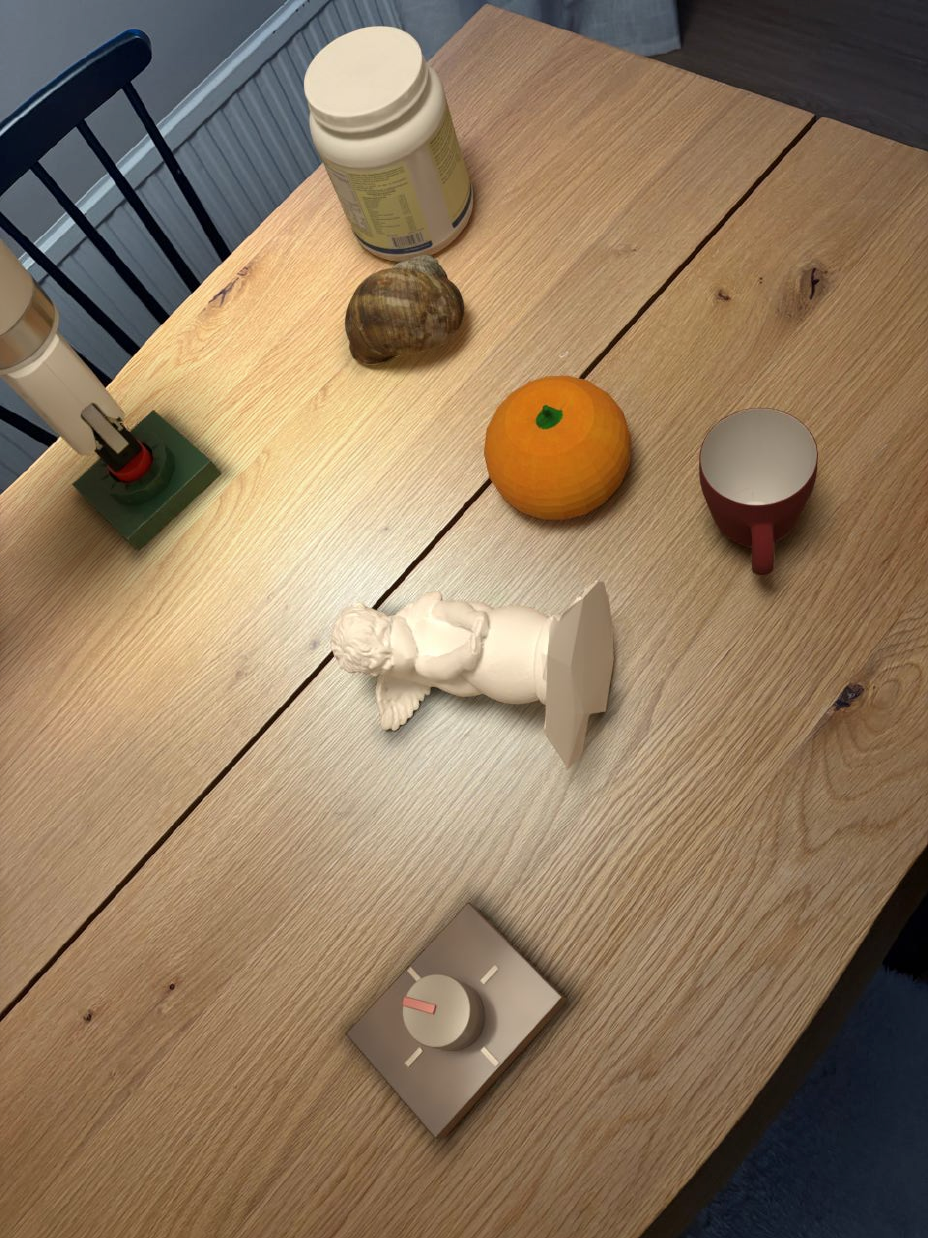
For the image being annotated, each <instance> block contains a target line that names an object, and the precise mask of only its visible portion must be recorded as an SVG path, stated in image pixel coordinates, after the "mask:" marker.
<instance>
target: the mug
mask: <svg viewBox="0 0 928 1238" xmlns="http://www.w3.org/2000/svg"><path fill="white" fill-rule="evenodd" d="M817 445H818V444H817V442H816V440H815V437H814V435H813V434H812V432H811V430H810V429H809V427H807V425H805V423H804V422H802V421H801V420H800V419H798V418H797V417H796V416H794V415H792V414H790V413H788V412H785V411H783V410H780V409H775V408H770V407H751V408H750V407H749V408H745V409H740V410H738V411H735V412H732V413H731V414H728V415H726V416H724V417H723V418H721V419H720V420H719V421H718V422H716V423H715V424H714V425H712V427H711V428H710V429H709V431H707V433H706V435H705V437H704V438H703V441H702V442H701V446H700V449H699V454H698V475H699V476H698V477H699V484H700V489H701V492H702V495H703V498H704V500H705V503H706V505H707V507H708V510H709V512H710V515H711V517H712V520H713V521H714V523H715V526H717V528H718V529H719V530H720V532H721V533H722V534H723V535H724V536H726V537H727V538H728V539H729V540H731V541H733V542H735V543H737V544H739V545H741V546H746V547H749V548H751V571H752V573H753V574H754V575H756V576H763V577H764V576H769V575H771V574H772V573H773V572H774V569H775V543H776V542H778V541H779V540H781V539H783V538H785V536H787V535H788V534H789V532H791V530H793V529H794V527H795V526H796V524H797V522H798V521H799V519H800V517H801V515H802V513H803V511H804V509H805V508H806V505H807V504H808V502H809V500H810V497H811V495H812V493H813V491H814V488H815V485H816V480H817V474H818V463H819V452H818V451H819V450H818V446H817Z"/></svg>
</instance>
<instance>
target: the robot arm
mask: <svg viewBox="0 0 928 1238" xmlns="http://www.w3.org/2000/svg"><path fill="white" fill-rule="evenodd" d="M59 318H60V314H59V309H58V307H57V305H56V304H55V302H54V301H53V300H52V298H51V297H50V296H49V294H47V292H46V291H45V290H44V289H43V287H42V286H41V285H40V284H39V283H38V281H37V280H36V279H35V278H34V277H33V275H32V274H31V273H30V272H29V271H28V269H27V268H26V267H25V266H24V264H23V263H22V262H21V261H20V260H19V258H18V257H17V256H16V255H15V254H14V252H12V250H11V249H10V247H9V246H8V245H7V244H6V242H4V240H3V239H2V237H0V378H1V379H2V380H3V381H4V382H5V383H6V384H7V385H8V387H9V388H11V389H12V391H13V392H14V393H15V394H16V395H18V397H19V398H20V399H21V400H22V401H23V402H24V403H25V404H26V405H27V406H28V407H29V408H30V409H31V410H32V411H33V412H34V413H35V414H36V415H37V416H38V417H39V418H40V419H41V420H42V421H43V422H44V423H45V424H46V425H48V427H50V429H52V430H53V431H54V433H56V434H57V435H58V436H59V437H60V438H61V439H62V440H63V441H64V442H65V443H66V444H67V445H68V446H69V447H71V449H72V450H74V451H75V452H76V453H77V454H78V455H80V456H83V457H88V456H90V455H91V454H92V453H93V452H94V453H95V454H96V455H97V456H98V458H101V459H102V460H103V461H104V462H105V463H106V464H107V465H108V466H109V467H110V468H111V469H112V470H113V471H114V472H119V471H120V470H121V469H122V468H124V467H125V466H126V465H127V464H128V463H129V462H130V461H131V460H132V459H133V458H134V457H135V456H137V455H138V454H139V453H140V452H141V451H142V446H141V445H140V444H139V442H138V441H137V440H136V439H135V438H134V437H133V436H132V434H131V433H130V432H129V431H130V430H129V429H127V427H126V426H125V425H124V424H125V423H126V413H125V412H124V410H123V409H122V407H121V406H120V405H119V404H118V403H117V401H116V400H115V398H114V397H113V396H112V395H111V393H110V392H109V390H107V388H106V387H105V386H104V384H103V383H102V382H101V381H100V379H99V378H98V376H96V374H95V373H93V371H92V369H91V368H90V367H89V366H88V365H87V363H86V362H85V361H84V360H83V359H82V358H81V357H80V356H79V355H80V354H78V353H77V352H76V351H75V350H74V348H73V347H72V346H71V345H70V343H69V342H68V341H67V340H66V339H65V338H64V337H63V336H62V334H61V333H60V332H59V331H58V329H59V322H60V319H59Z"/></svg>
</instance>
